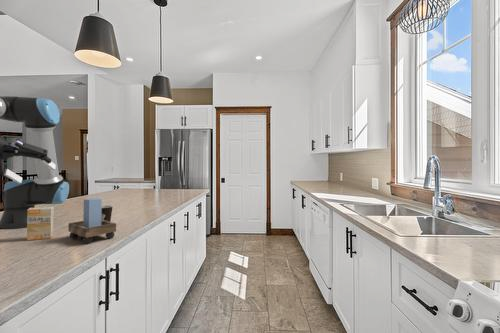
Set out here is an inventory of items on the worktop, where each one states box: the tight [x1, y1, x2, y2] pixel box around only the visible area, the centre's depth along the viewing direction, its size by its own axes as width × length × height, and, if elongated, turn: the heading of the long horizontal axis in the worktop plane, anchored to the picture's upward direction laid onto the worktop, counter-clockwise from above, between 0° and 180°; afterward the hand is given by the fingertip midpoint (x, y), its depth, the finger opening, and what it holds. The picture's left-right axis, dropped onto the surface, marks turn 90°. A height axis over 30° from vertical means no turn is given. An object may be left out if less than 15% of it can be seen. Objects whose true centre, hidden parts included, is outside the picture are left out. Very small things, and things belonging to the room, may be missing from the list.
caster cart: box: [67, 220, 117, 245], centre depth 110 cm, size 16×12×6 cm
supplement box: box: [26, 206, 55, 241], centre depth 109 cm, size 8×5×13 cm, turn 117°
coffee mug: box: [101, 204, 113, 222], centre depth 132 cm, size 12×9×10 cm
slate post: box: [82, 197, 103, 228], centre depth 110 cm, size 5×5×12 cm
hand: (37, 174), depth 102 cm, fingers open, 13 cm apart
